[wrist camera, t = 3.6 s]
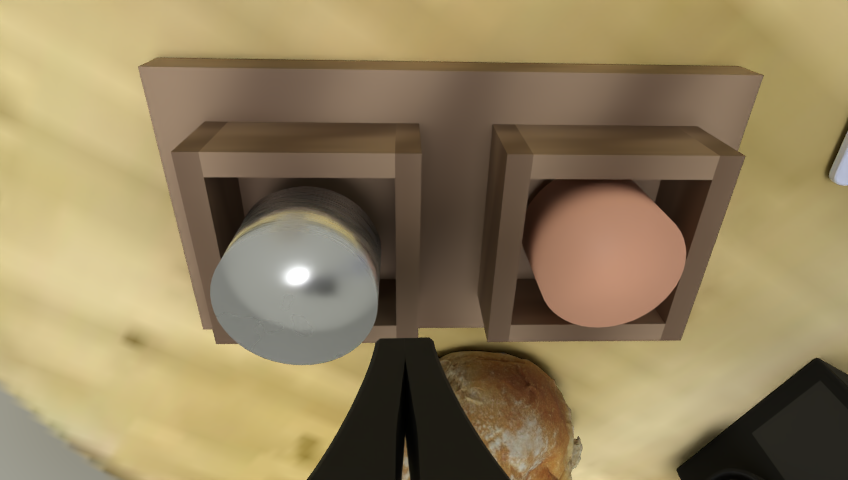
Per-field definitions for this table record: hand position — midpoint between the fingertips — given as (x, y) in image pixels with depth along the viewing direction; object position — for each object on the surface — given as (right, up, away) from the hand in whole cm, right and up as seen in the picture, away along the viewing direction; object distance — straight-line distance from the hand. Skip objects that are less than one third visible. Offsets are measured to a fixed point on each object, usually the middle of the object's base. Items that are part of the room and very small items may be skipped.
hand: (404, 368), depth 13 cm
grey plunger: (-3, +3, +5) cm, 6 cm away
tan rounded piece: (+7, +4, +7) cm, 10 cm away
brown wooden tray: (+1, +5, +8) cm, 10 cm away
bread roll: (+3, -6, +15) cm, 17 cm away
